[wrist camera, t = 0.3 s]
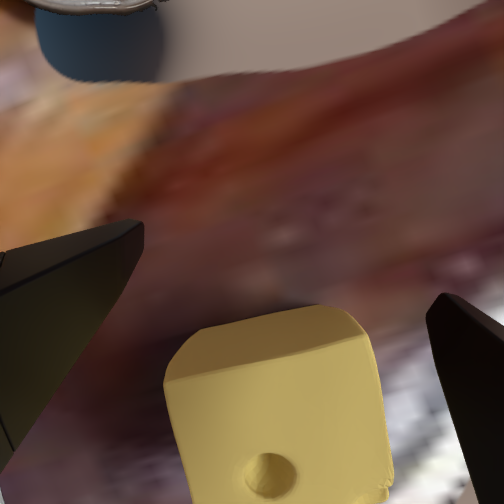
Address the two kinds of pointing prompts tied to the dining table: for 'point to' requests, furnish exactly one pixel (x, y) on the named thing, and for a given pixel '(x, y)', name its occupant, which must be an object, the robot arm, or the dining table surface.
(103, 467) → the dining table surface
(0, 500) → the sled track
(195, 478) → the cheese
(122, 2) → the food plate
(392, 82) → the dining table surface
